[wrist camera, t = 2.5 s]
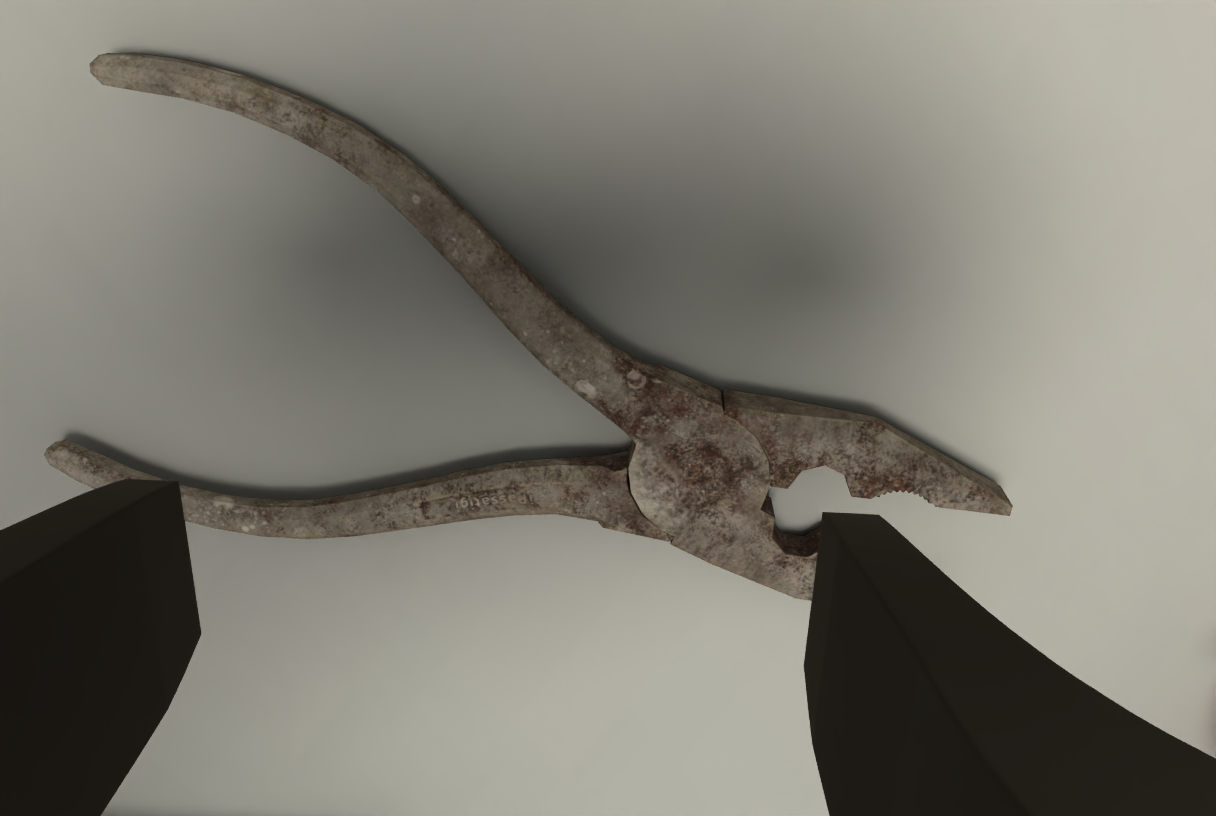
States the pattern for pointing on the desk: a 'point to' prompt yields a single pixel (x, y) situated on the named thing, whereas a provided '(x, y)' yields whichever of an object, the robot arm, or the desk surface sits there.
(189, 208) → the desk surface
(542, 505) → the pliers
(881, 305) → the desk surface
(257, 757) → the desk surface
